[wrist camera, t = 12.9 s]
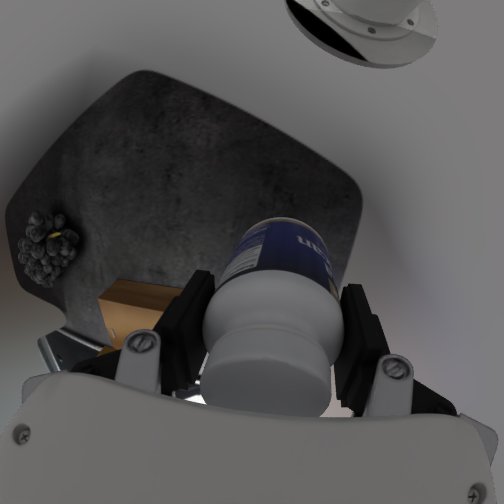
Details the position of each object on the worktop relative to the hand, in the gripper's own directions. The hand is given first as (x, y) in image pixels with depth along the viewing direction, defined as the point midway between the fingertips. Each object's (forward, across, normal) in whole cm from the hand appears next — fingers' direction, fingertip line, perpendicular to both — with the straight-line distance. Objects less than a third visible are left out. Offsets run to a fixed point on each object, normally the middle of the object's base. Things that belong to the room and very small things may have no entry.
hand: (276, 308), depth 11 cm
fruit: (+16, +32, +6) cm, 36 cm away
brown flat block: (+16, +18, +17) cm, 29 cm away
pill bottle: (+5, 0, 0) cm, 5 cm away
